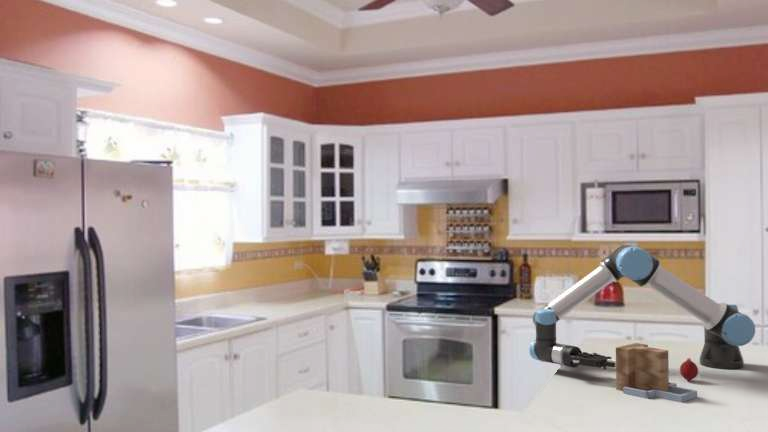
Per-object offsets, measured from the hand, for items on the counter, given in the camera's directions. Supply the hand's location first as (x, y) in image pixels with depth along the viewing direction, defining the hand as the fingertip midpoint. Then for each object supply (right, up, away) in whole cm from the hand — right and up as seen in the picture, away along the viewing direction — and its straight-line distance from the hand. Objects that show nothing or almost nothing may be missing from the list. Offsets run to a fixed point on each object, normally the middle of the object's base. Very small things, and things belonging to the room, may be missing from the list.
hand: (624, 366), depth 240 cm
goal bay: (+9, -7, -10) cm, 15 cm away
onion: (+24, -7, +6) cm, 26 cm away
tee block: (+5, -7, -5) cm, 10 cm away
